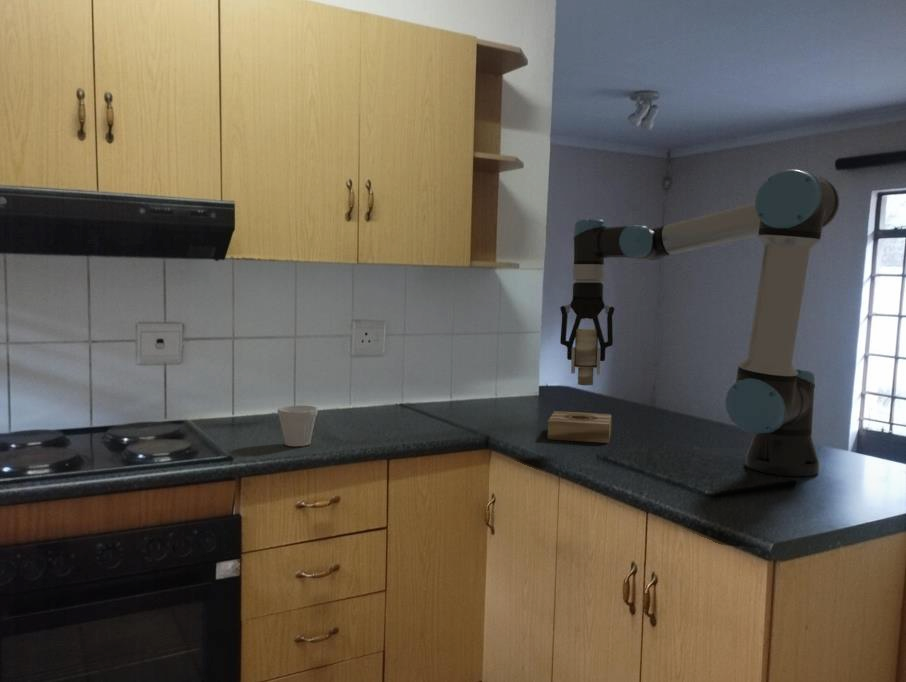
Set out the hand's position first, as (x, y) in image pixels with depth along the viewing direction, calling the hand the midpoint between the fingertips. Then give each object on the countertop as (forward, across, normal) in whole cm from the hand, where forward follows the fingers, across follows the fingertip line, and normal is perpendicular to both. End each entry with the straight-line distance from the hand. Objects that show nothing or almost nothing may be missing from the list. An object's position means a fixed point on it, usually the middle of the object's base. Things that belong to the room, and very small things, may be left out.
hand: (585, 373), depth 181 cm
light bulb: (+3, 0, 0) cm, 3 cm away
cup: (+19, +70, +20) cm, 75 cm away
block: (+19, +2, -13) cm, 23 cm away
